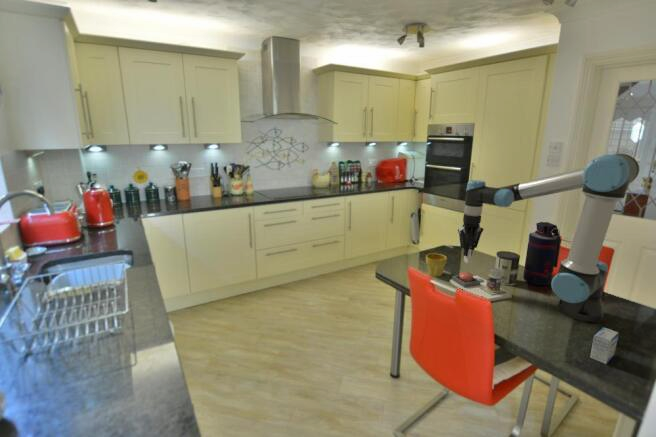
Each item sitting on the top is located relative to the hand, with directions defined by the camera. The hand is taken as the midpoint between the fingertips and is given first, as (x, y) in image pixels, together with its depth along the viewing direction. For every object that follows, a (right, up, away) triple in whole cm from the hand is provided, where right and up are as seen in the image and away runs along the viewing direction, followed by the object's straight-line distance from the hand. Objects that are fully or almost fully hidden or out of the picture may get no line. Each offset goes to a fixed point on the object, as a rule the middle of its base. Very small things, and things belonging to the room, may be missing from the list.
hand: (466, 262), depth 162 cm
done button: (0, -9, +2) cm, 9 cm away
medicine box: (+24, -25, -50) cm, 61 cm away
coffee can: (+22, -11, +7) cm, 25 cm away
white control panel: (+5, -13, -2) cm, 14 cm away
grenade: (+38, -11, +6) cm, 40 cm away
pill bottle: (+9, -12, -6) cm, 17 cm away
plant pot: (-10, -9, +16) cm, 21 cm away
